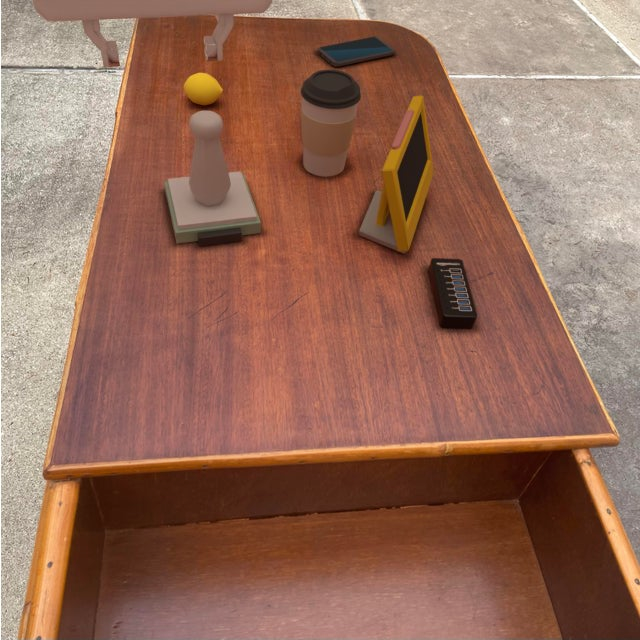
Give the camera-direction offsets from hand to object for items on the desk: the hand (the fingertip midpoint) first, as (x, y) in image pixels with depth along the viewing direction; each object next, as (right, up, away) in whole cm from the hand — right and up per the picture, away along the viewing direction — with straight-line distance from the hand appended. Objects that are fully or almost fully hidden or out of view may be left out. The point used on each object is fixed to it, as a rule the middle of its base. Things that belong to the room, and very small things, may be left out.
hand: (163, 61), depth 60 cm
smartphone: (+22, +31, +73) cm, 82 cm away
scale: (-1, -8, +34) cm, 35 cm away
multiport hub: (+32, -21, +26) cm, 47 cm away
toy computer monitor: (+26, -9, +37) cm, 46 cm away
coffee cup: (+15, +1, +45) cm, 48 cm away
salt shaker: (-1, -7, +32) cm, 33 cm away
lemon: (-6, +15, +55) cm, 57 cm away
